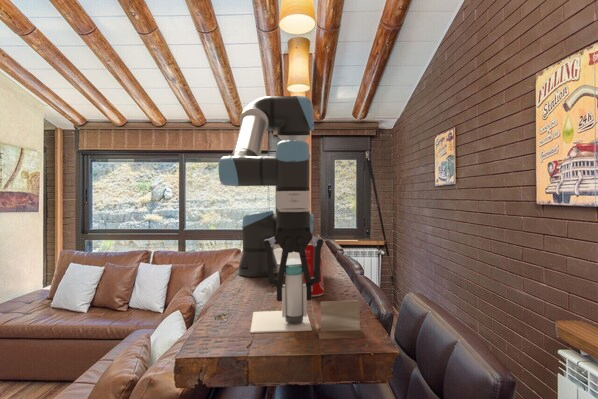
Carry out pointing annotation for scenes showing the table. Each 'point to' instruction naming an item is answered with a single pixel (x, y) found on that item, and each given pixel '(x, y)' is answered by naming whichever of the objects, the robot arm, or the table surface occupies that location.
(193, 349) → the table surface
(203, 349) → the table surface
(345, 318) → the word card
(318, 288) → the beverage can
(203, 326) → the table surface
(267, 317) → the paper
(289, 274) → the marker
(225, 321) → the table surface
